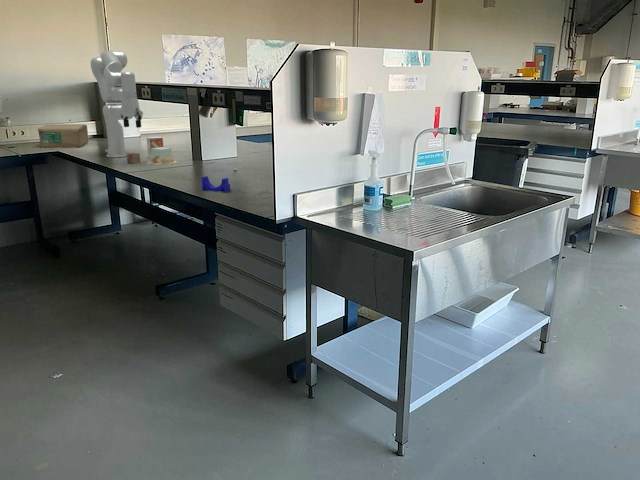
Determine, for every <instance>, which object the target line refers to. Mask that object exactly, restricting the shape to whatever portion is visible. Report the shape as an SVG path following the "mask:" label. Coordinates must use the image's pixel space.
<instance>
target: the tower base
mask: <svg viewBox="0 0 640 480" xmlns="http://www.w3.org/2000/svg"><path fill="white" fill-rule="evenodd" d="M149 159H150V162H151V163H159V164H165V163H170V162H174V161H175V160H174V154H172V155H169V156H164V157H160V156H152V155H151V156H150V158H149Z"/></svg>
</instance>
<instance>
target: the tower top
mask: <svg viewBox="0 0 640 480" xmlns="http://www.w3.org/2000/svg"><path fill="white" fill-rule="evenodd" d="M172 150H173V149H172V147H165V146H163V147H158V148H152V149H151V155H152V156H160V157H164V156H169V155H173V153H172Z"/></svg>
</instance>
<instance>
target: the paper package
mask: <svg viewBox="0 0 640 480" xmlns="http://www.w3.org/2000/svg"><path fill="white" fill-rule="evenodd" d="M88 130H89V129H88V125H87V124H85V123H80V124H79V123H78V124H76V123H75V124H73V123H71V124H44V125H42V126H40V127H38V128H37V132H38V137H39V143H40V149H51V148H52V149H54V148H55V149H58V147H62V148H82V147H83V146H85V145H86V144H88V143H89V136H88V134H89V132H88Z"/></svg>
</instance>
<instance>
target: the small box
mask: <svg viewBox="0 0 640 480" xmlns="http://www.w3.org/2000/svg"><path fill="white" fill-rule="evenodd" d="M146 147H147V158H148V159H150V156H151V149H152V148H158V147H164V139H163V137H161V136H149V137H148V136H146Z"/></svg>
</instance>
